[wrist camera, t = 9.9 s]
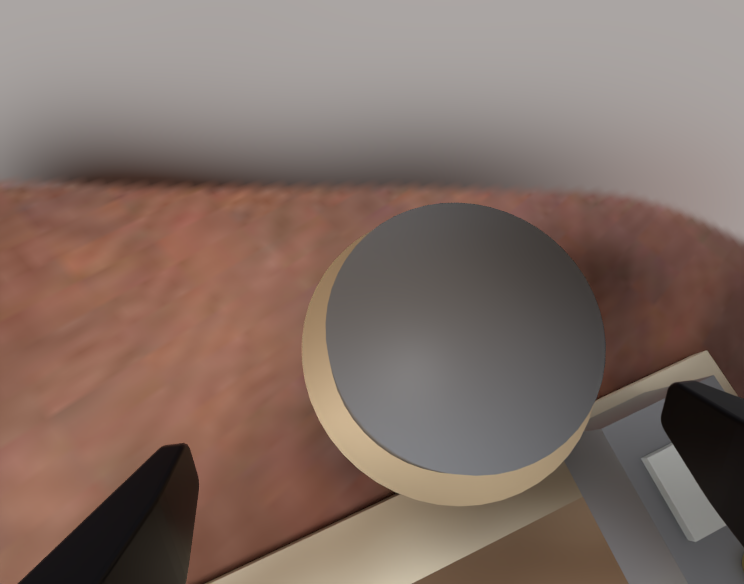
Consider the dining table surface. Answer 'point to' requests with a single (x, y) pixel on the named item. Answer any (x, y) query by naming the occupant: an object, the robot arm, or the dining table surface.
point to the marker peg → (454, 354)
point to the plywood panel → (469, 530)
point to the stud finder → (651, 499)
